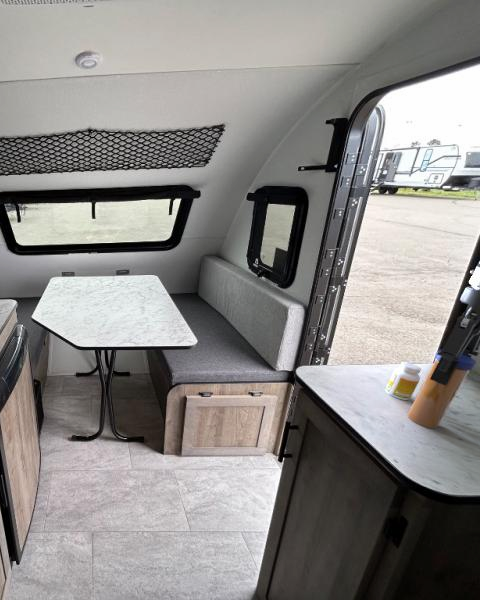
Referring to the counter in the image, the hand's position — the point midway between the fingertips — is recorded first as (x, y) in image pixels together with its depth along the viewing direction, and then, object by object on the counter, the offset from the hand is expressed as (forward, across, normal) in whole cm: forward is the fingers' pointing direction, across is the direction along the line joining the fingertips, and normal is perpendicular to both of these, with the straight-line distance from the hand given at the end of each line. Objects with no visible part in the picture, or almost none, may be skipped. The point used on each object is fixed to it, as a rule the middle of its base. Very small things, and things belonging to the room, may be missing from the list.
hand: (444, 378), depth 79 cm
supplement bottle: (+13, -8, -8) cm, 17 cm away
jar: (+13, 0, 0) cm, 13 cm away
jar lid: (-6, 0, 0) cm, 6 cm away
